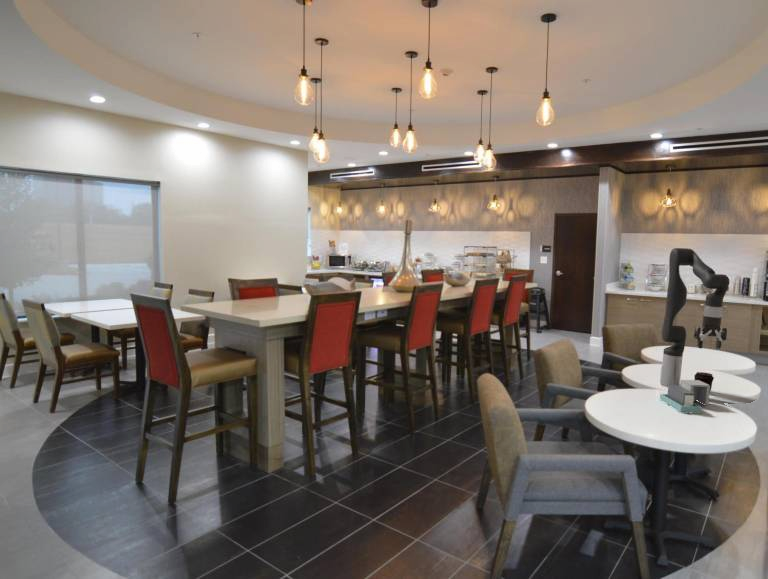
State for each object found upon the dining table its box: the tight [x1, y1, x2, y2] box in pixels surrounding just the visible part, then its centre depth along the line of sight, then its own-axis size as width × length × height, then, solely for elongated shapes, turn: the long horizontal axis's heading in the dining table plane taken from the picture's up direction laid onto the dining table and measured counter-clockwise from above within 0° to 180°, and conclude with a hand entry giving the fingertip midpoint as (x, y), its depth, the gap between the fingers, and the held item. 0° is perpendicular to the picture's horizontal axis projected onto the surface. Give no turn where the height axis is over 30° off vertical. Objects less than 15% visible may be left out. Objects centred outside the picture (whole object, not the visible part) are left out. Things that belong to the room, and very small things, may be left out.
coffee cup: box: [694, 371, 715, 395], centre depth 258 cm, size 9×8×13 cm
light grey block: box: [680, 379, 711, 406], centre depth 250 cm, size 9×9×10 cm
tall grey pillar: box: [667, 385, 695, 406], centre depth 244 cm, size 13×5×8 cm, turn 1°
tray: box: [659, 393, 702, 414], centre depth 245 cm, size 18×9×3 cm, turn 0°
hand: (708, 348), depth 248 cm, fingers open, 8 cm apart
